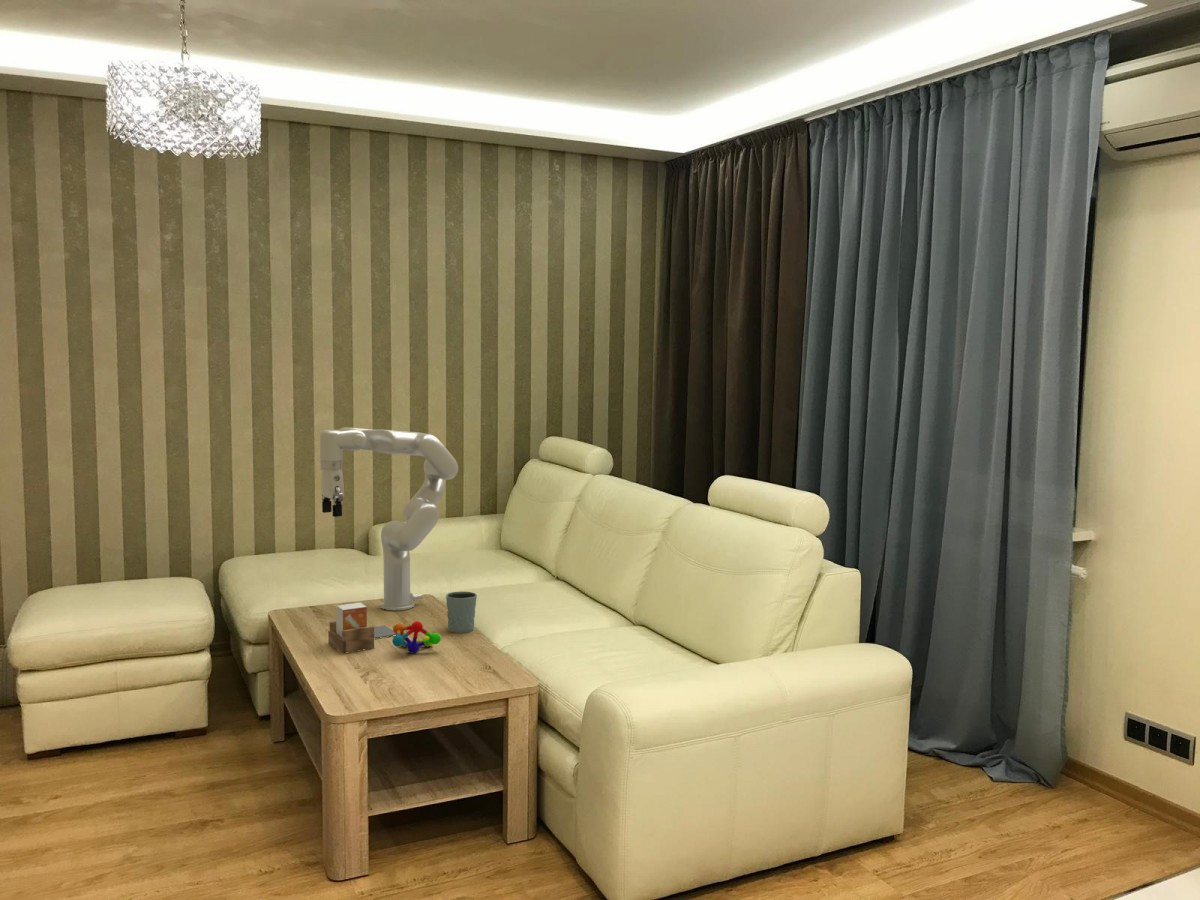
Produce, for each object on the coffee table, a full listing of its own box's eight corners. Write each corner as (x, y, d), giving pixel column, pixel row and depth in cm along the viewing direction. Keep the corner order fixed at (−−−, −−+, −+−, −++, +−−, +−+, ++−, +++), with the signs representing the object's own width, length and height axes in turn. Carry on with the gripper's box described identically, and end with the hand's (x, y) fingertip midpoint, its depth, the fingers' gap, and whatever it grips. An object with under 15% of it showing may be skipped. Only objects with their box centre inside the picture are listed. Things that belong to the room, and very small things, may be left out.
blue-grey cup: (440, 630, 344) (440, 595, 343) (458, 623, 353) (458, 589, 352) (465, 635, 340) (465, 599, 338) (482, 627, 348) (482, 593, 347)
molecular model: (390, 658, 324) (393, 650, 311) (388, 628, 328) (391, 619, 314) (437, 655, 329) (443, 647, 315) (436, 625, 332) (441, 616, 318)
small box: (343, 650, 321) (342, 609, 320) (336, 645, 327) (335, 605, 325) (367, 646, 326) (367, 606, 324) (360, 641, 331) (360, 601, 330)
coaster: (384, 626, 348) (384, 625, 348) (398, 635, 338) (398, 633, 338) (350, 632, 341) (350, 630, 341) (363, 641, 331) (363, 639, 331)
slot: (359, 638, 334) (359, 617, 334) (374, 648, 324) (374, 626, 323) (328, 643, 329) (328, 621, 328) (342, 653, 318) (342, 631, 317)
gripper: (351, 467, 350) (351, 517, 352) (332, 462, 364) (333, 510, 366) (330, 468, 346) (330, 518, 347) (312, 463, 360) (312, 511, 361)
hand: (332, 514), depth 356 cm, fingers open, 9 cm apart
